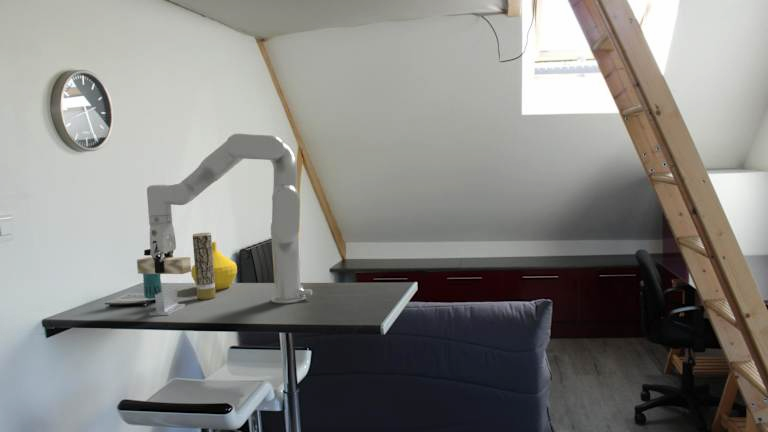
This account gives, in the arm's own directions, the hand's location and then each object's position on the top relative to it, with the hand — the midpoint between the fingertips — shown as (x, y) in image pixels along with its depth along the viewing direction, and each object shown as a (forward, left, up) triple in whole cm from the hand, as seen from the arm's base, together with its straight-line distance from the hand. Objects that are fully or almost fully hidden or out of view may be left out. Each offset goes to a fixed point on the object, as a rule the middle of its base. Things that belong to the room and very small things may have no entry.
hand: (164, 270), depth 207 cm
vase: (-2, -37, -15) cm, 40 cm away
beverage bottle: (+14, -16, -15) cm, 26 cm away
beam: (0, 0, -1) cm, 1 cm away
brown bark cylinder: (-6, -19, -15) cm, 25 cm away
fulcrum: (0, 0, -14) cm, 14 cm away
